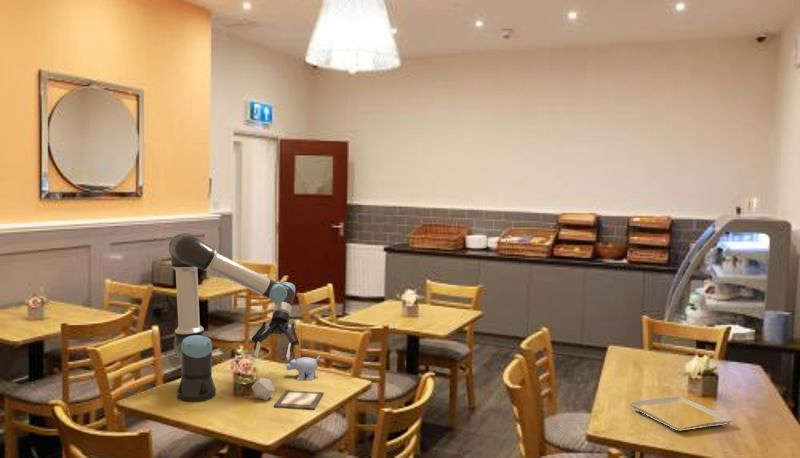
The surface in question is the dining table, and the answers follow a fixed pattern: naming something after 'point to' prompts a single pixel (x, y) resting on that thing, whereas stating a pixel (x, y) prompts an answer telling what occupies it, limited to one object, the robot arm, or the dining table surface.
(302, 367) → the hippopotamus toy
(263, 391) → the die
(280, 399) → the picture frame
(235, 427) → the dining table surface
